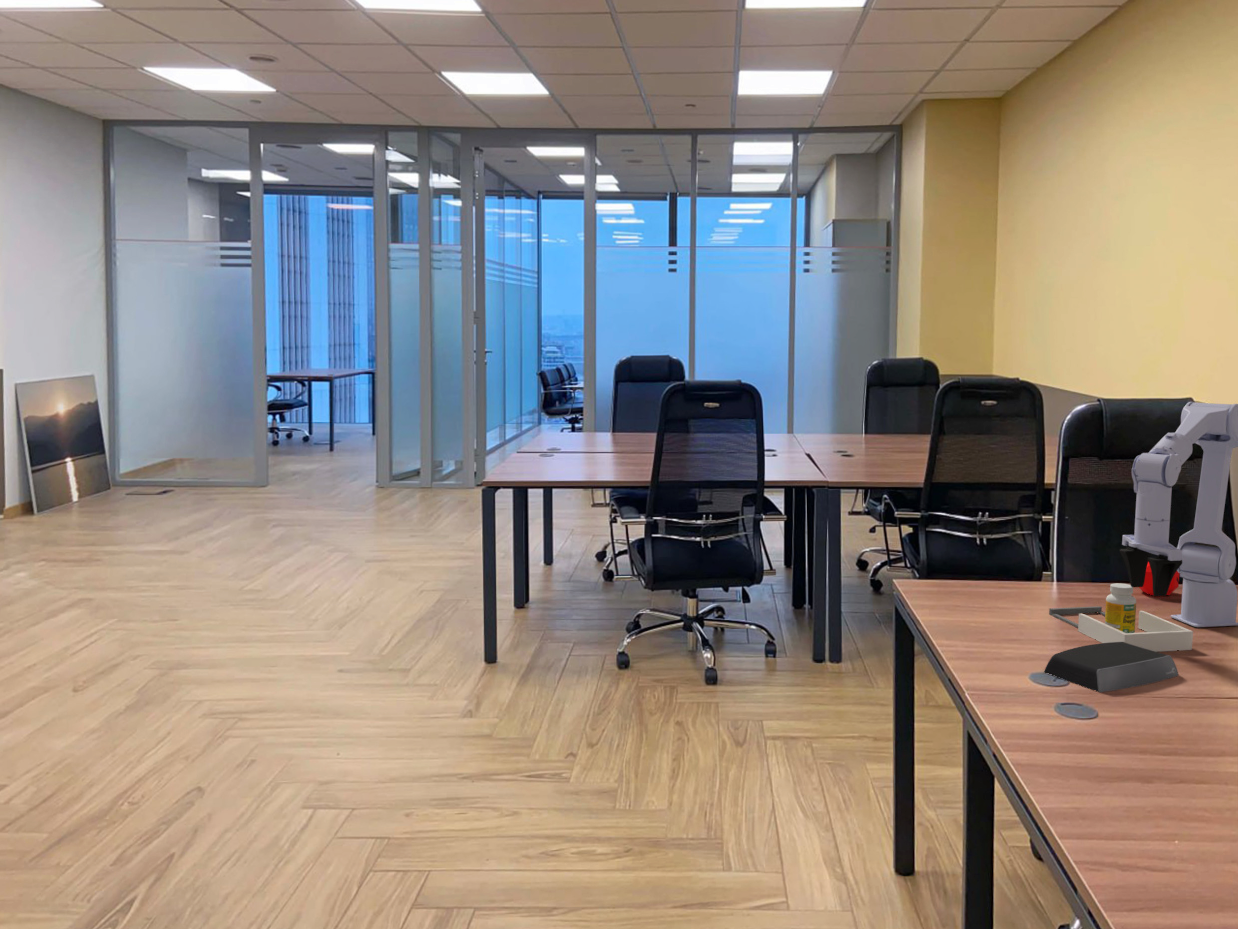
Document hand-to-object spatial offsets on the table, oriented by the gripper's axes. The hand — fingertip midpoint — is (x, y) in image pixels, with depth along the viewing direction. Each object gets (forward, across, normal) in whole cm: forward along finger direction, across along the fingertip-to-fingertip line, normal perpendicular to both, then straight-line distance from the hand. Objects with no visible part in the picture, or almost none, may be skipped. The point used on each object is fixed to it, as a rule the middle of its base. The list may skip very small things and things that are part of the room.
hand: (1148, 591), depth 202 cm
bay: (+10, -4, 0) cm, 11 cm away
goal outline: (+10, -18, 0) cm, 21 cm away
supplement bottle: (+11, -8, 0) cm, 13 cm away
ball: (+11, -36, +27) cm, 46 cm away
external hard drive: (+11, +14, -16) cm, 24 cm away
